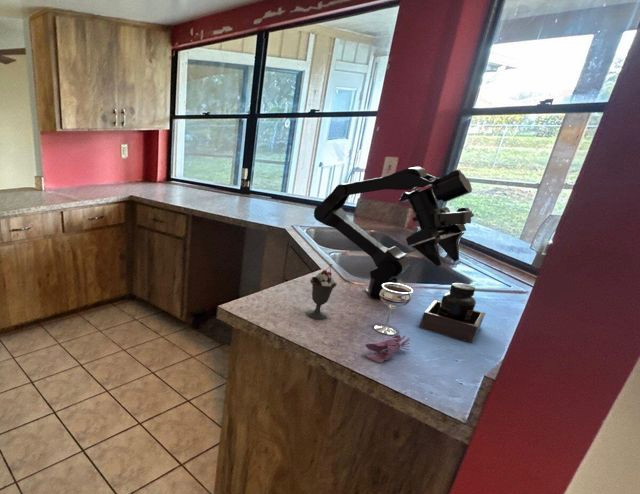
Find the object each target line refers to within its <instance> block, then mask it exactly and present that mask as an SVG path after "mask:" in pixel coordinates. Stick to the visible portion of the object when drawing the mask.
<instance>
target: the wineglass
mask: <svg viewBox="0 0 640 494" xmlns="http://www.w3.org/2000/svg"><path fill="white" fill-rule="evenodd" d="M382 286H383V289H382V290H381V291H380V299H379V300H381V302H382V303H383V305H385V306H387V307H388V313H387V318H386V323H385V325H384V324H383V325H382V324H379V325H378V324H377V325H375V326H374V329H375V330H376V331H377V332H379V333H381V334H384V335H397V330H396V329H394V328H393V327H391V326H388V325H389V323H390V319H391V317H392V315H393V311H394V310H395V309H398V308H403V307H405V306H407V305H408V304H409V303H410V302H411V300H412V294H413V292H414V290H413V288H411V287H410V286H408V285H406V284H405V285H404V284H402V283H397V284H396V283H385V284H383V285H382Z"/></svg>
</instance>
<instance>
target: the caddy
mask: <svg viewBox="0 0 640 494" xmlns="http://www.w3.org/2000/svg"><path fill="white" fill-rule="evenodd" d="M440 304H441V301H440V300H435V299H434V300H433V301H432V302H431V303H430V305H429V306H428V307H426V309H425V311H424V312H423V314H422V318H421V320H420V323H419V328H420V329H423V330H427V331H431V332H434V333H436V334H441V335H443V336H447V337H450V338H454V339H457V340H459V341H462V342H463V341H464V342H467V343H469V344H472V343H473V341H474V339H475V337H476V336H477V334H478V332H479V330H480V328H481V325H482V323H483V321H484V319H485V315H486V312H482V311H479V310H475V309H474V310H473V313H472V316H471V319H470V321H469V323H465V322H462V321H458V320H454V319H451V318H447V317H443V316H440V315H437V313H438V310H439V307H440Z"/></svg>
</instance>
